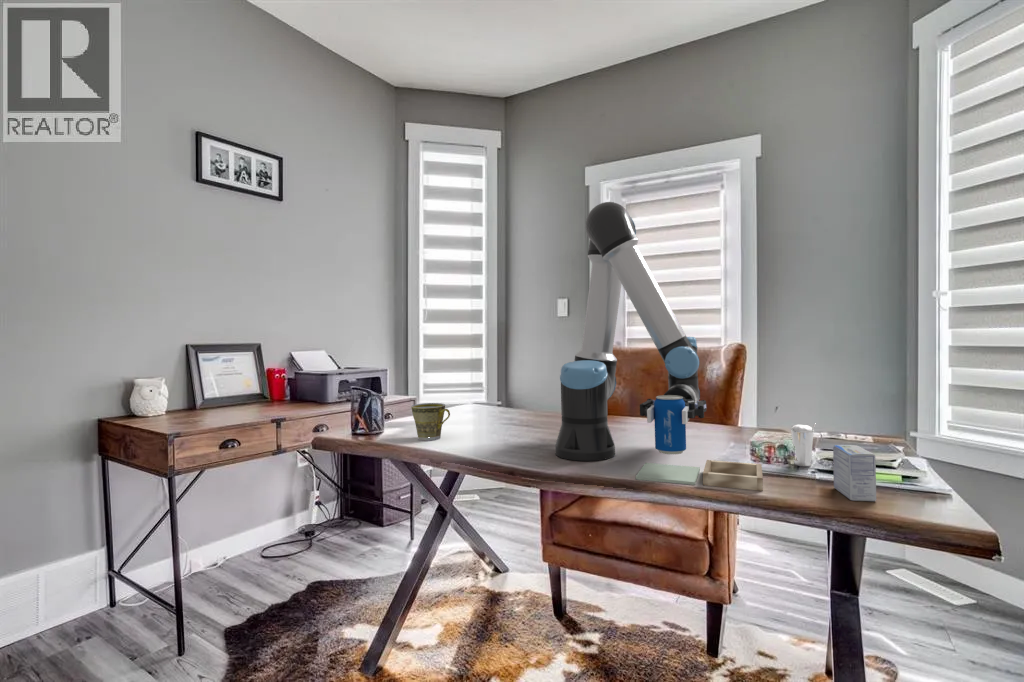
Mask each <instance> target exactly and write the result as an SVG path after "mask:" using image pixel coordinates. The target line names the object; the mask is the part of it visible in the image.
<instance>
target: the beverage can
mask: <svg viewBox="0 0 1024 682" xmlns="http://www.w3.org/2000/svg"><path fill="white" fill-rule="evenodd" d="M682 398H683V397H682V396H677V395H664V394H663V395H657V396H655V399H654V400H655V402H654V420H653V421H654V446H655V447H654V448H655V450H657V451H658V453H661V454H662V455H680V454H683V452H684V451H686V450H687V433H686V431H687V428H686V425H687V424H682V410H683V409H684V408H685V402H684V400H683V399H682Z"/></svg>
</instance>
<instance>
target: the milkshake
mask: <svg viewBox="0 0 1024 682" xmlns="http://www.w3.org/2000/svg"><path fill="white" fill-rule="evenodd" d="M816 424H817V423H816V422H814V424H813V427H812V426H811V425H810V426H809V425H808V424H794V425H793V426H792V427H791V428H790V433H791V441H792V445H793V444H794V446H795V448H796V456H797V460H798V461H795V460H794V459H793V463H794V465H795V466H799V467H811V466H812V454H813V442H814V433H815V430H814V428H815V426H816Z"/></svg>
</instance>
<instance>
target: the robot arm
mask: <svg viewBox="0 0 1024 682" xmlns="http://www.w3.org/2000/svg"><path fill="white" fill-rule="evenodd" d="M585 233H586V235H587V237H588V239H589V244H588V251H587V258H588V259H589V260H590V262H591V272H590V278H589V287H588V295H587V303H586V310H585V311H586V312H585V319H584V325H583V326H584V327H583V335H582V342H581V348H580V350H578V351H577V352H576V353H575V354H574V361H569V362H567V363H564V364H563V365H562V366H561V367H560V374H559V380H560V400H561V401H560V402H561V403H560V405H561V406H560V409H561V410H560V411H561V415H560V416H561V425H560V429H559V432H558V435H557V438H556V441H555V446H554V447H555V449H554V451H555V453H554V454H555V455H556V456H557V457H559V458H562V459H565V460H569V461H570V460H571V461H580V462H581V461H582V462H583V461H584V462H591V461H594V462H595V461H603V460H607V459H610V458H611V459H612V458H613V457H615V456H616V445H615V442H614V439H613V436H612V433H611V430H610V427H609V424H608V421H609V420H608V400H609V399H610V398H611V397H612V396H613V394H614V392H615V390H616V387H617V377H616V371H617V363H618V359H617V357H616V356H615V355H614V352H613V351H614V343H615V336H616V330H617V329H616V328H617V320H618V312H619V307H620V306H619V305H620V299H621V288H622V287H623V289H624V290H625V292H626V294H627V296H628V298H629V301H630V302H631V304H632V305H633V307H634V309H635V311H636V313H637V314H638V317H639V318H640V320H641V322H642V324H643V326H644V327H645V329H646V331H647V332H648V335H649V336H650V338H651V341H652V342H653V344H654V345H655V347H656V349H657V351H658V353H659V356H661V358H662V361H663V363H664V366H665V369H666V371H667V375H668V376H667V379H668V390H667V391H666V392H664V394H663V395H677V396H682V397H683V398H682V399H683V400H684V402H685V408H684V409H683V410H682V424H686V425H687V424H688V421H690V419H695V418H696V416H697V418H699V419H704V418H705V412H707V401H706V400H705V399H702V400H700V399H701V398H700V397H701V391H700V389H699V376H698V371H699V368H700V367H699V366H700V357H699V355H698V343H697V339H696V337H695V336H687V335H686V333H685V331H684V329H683V327H682V326H681V324H680V322H679V320H678V318H677V317H676V314H675V313H674V310H673V309H672V307H671V305H670V304H669V301H668V300H667V298H666V296H665V294H664V292H663V291H662V289H661V287H660V286H659V283H658V282H657V280H656V278H655V277H654V274H653V272H652V271H651V269H650V267H649V265H648V264H647V261H646V260H645V258H644V256H643V254H642V253H641V251H640V249H639V247H638V242H639V238H638V237H637V230H636V224H635V222H634V220H633V218H632V217H631V215H630V214H629V212H628V211H627V209H626V208H625V207H624V206H623V205H622V204H619V203H617V202H614V201H605V202H601V203H598V204H597V205H595V206H594V207H593V208H592V209H591V210H590V211H589V213H588V214H587V216H586V220H585ZM655 400H656V399H651V398H647V399H646V401H644V402H642V403H640V404H639V416H640V417H645V418H647V419H646V420H647V421H646V423H647V424H651V423H652V422H653V421H654V402H655Z"/></svg>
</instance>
